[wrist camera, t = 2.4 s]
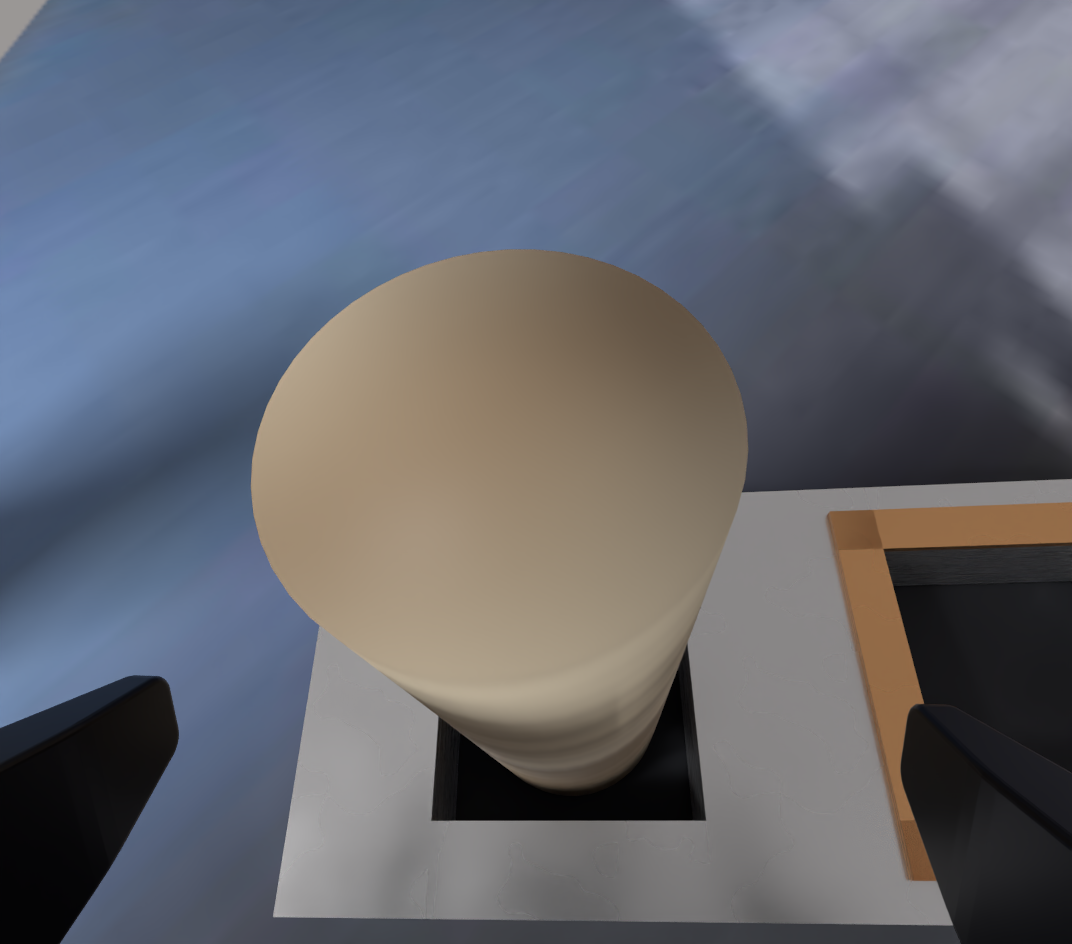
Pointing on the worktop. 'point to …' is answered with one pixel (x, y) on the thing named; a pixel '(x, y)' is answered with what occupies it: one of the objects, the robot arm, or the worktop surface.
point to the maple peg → (509, 499)
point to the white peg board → (692, 739)
